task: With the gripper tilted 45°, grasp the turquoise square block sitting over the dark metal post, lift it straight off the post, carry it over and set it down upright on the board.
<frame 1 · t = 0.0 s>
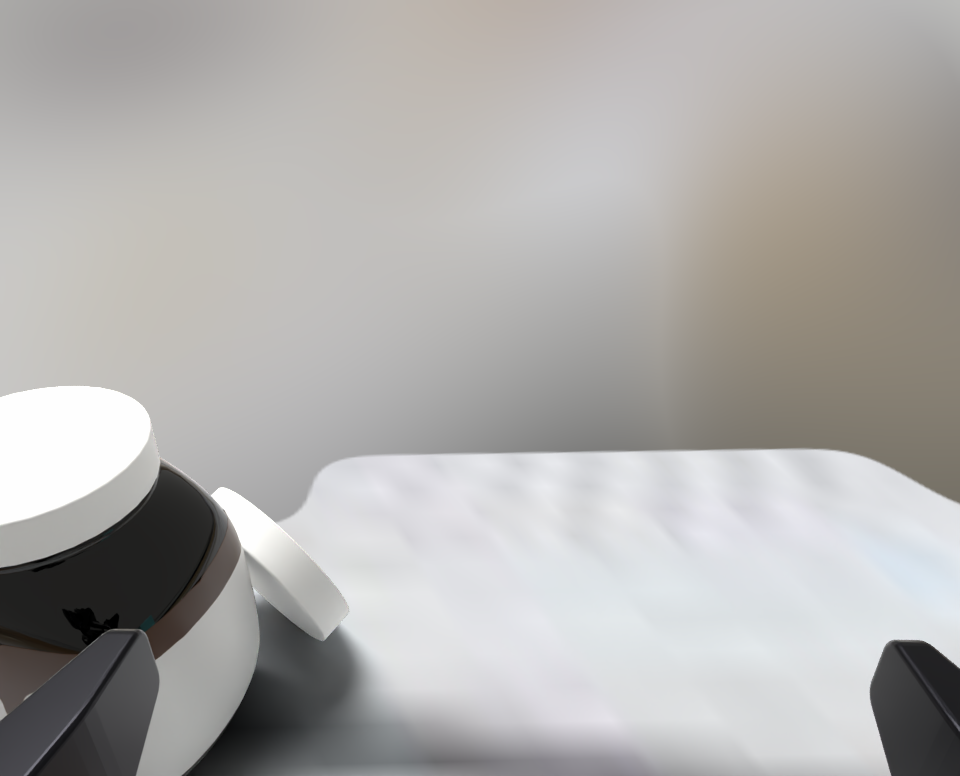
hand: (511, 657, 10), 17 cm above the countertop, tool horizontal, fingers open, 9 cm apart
spread jar: (176, 685, 29), on the countertop
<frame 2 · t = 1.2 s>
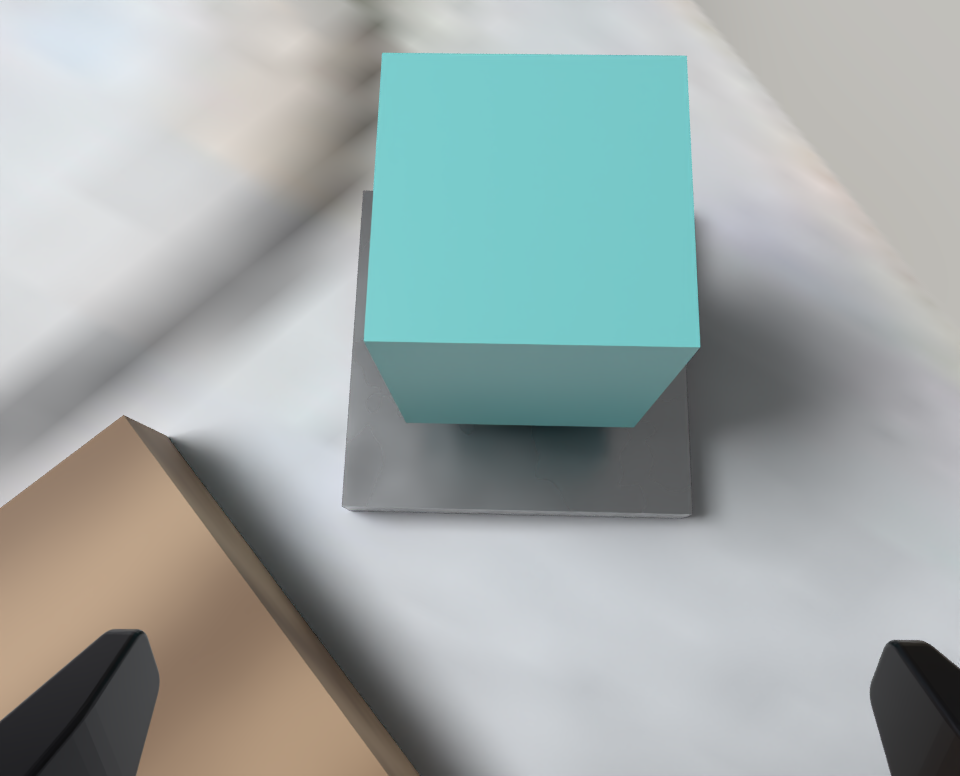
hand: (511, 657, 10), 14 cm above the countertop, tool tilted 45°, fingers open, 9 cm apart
post stand: (517, 354, 25), on the countertop
board: (160, 734, 22), on the countertop
turquoise square block: (520, 317, 22), point 3 cm above the countertop, touching post stand
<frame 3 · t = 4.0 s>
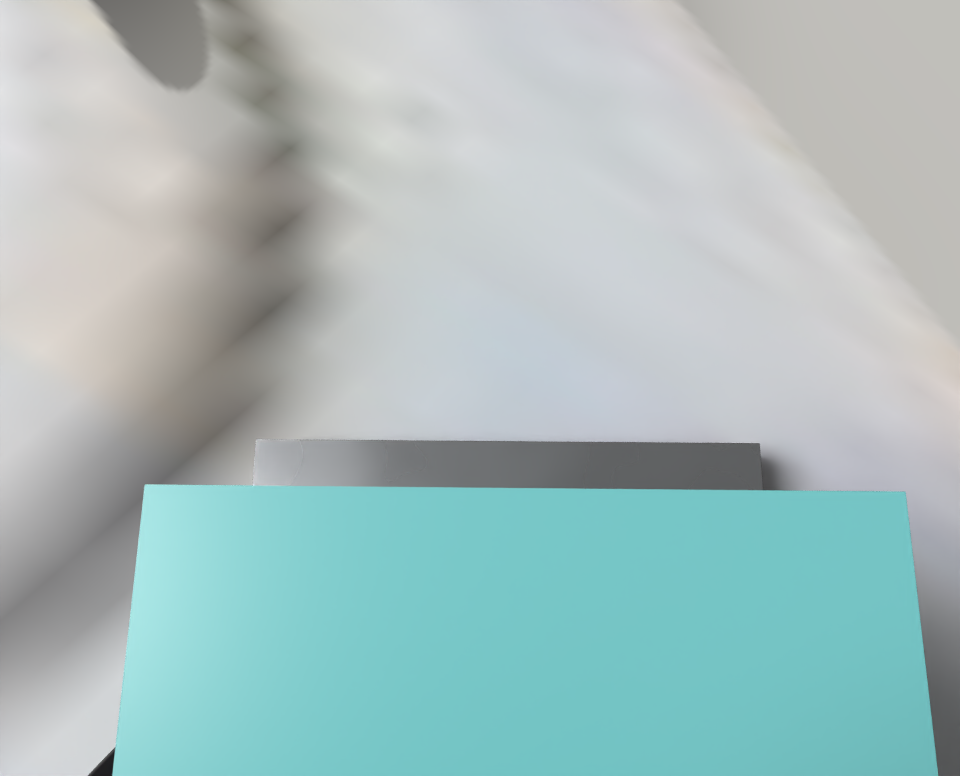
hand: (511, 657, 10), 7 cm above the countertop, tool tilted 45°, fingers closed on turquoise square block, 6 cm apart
post stand: (504, 700, 16), on the countertop
turquoise square block: (507, 733, 12), point 4 cm above the countertop, touching gripper, post stand
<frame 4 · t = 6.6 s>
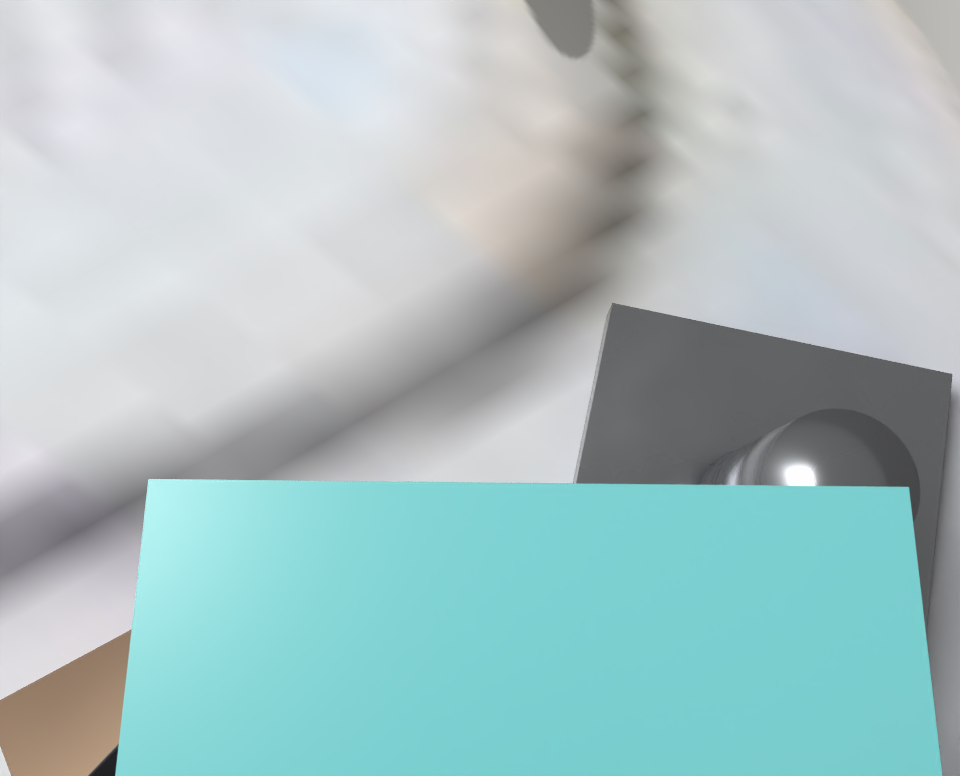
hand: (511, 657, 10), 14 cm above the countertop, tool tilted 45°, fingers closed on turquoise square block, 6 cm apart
post stand: (741, 508, 23), on the countertop
turquoise square block: (509, 730, 12), point 11 cm above the countertop, touching gripper
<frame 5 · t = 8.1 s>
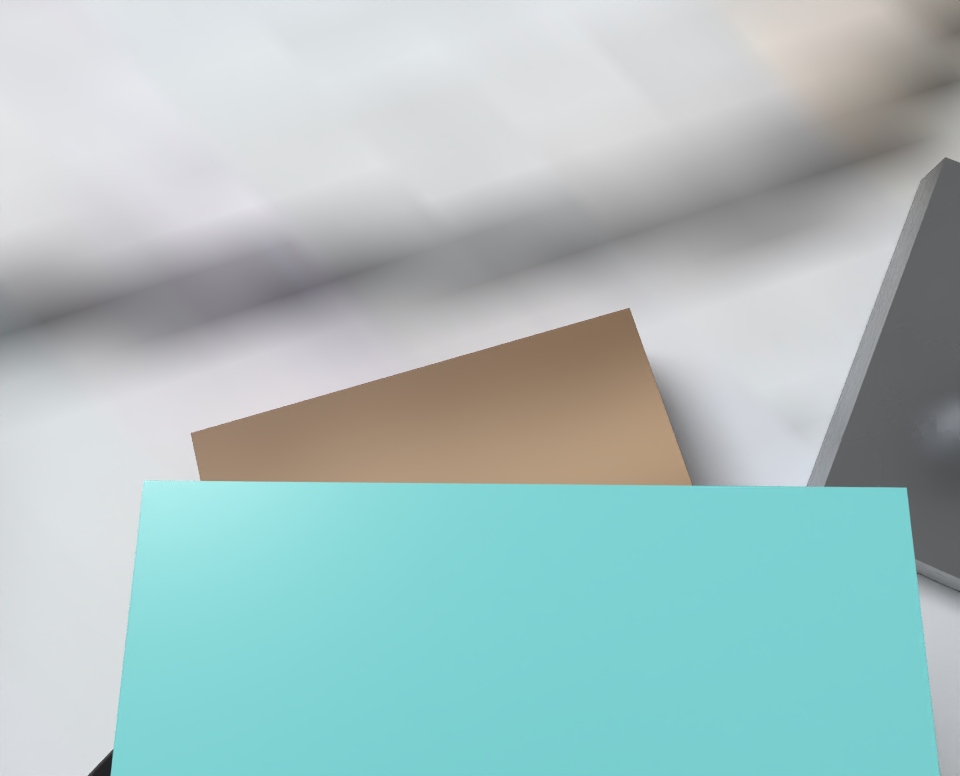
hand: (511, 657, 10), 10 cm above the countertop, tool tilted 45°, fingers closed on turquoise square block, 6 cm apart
board: (503, 676, 19), on the countertop
turquoise square block: (507, 731, 12), point 7 cm above the countertop, touching gripper
when the fingers open (7 cm above the countertop, at t = 9.1 s): turquoise square block drops 1 cm, resting on board.
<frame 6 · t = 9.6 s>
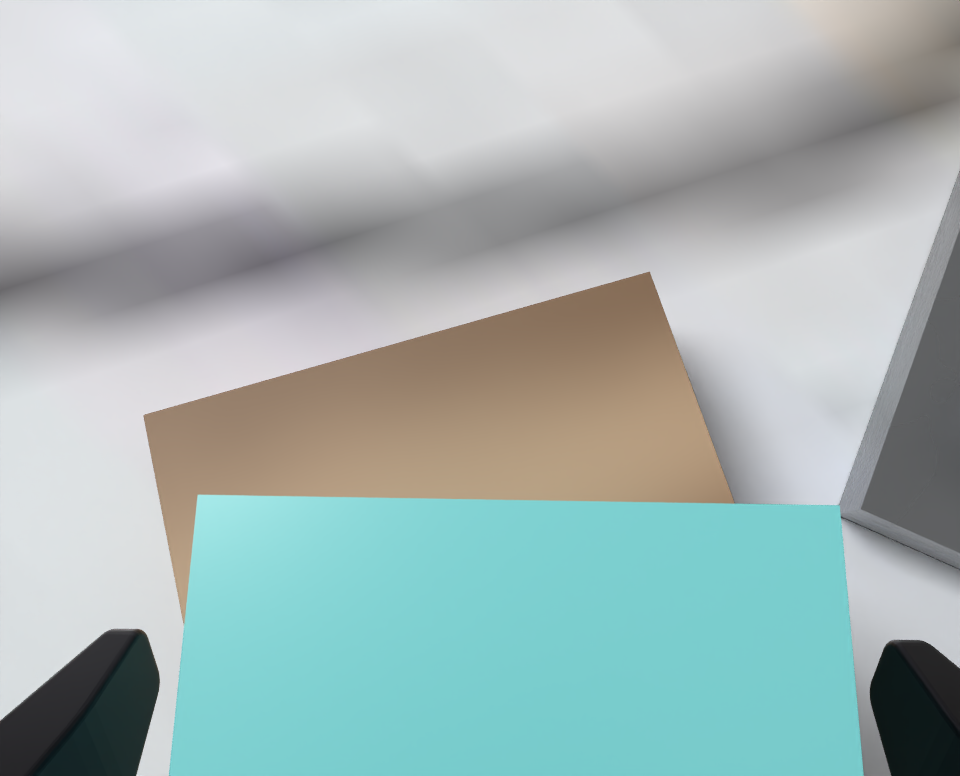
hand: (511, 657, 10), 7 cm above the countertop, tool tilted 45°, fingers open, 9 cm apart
board: (504, 695, 16), on the countertop
turquoise square block: (503, 718, 14), point 3 cm above the countertop, touching board
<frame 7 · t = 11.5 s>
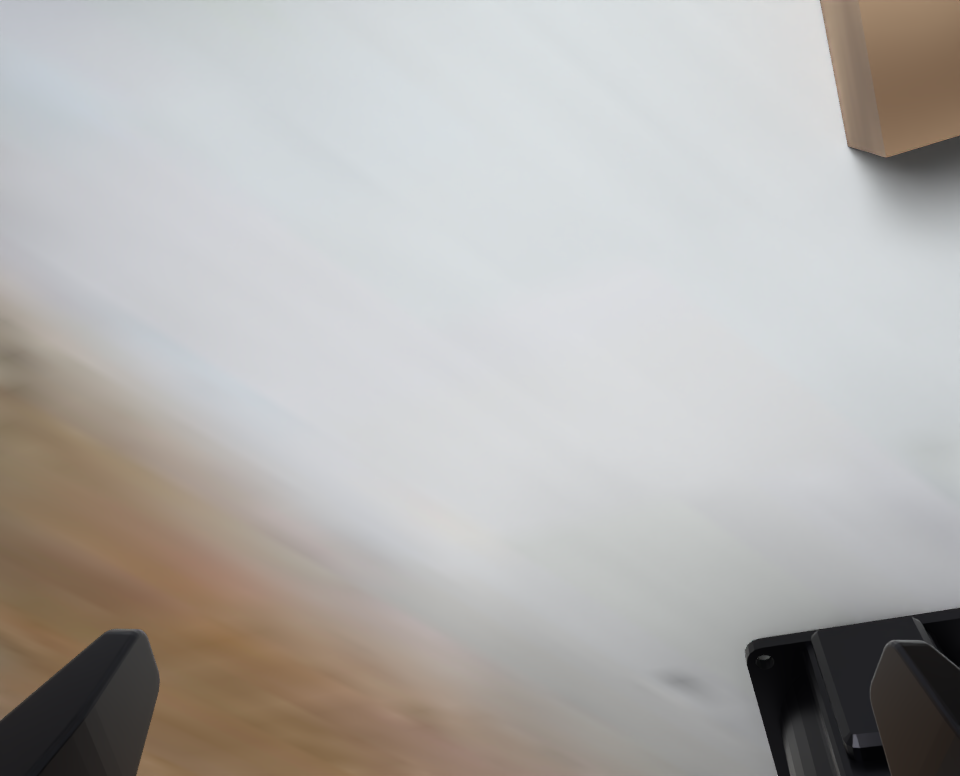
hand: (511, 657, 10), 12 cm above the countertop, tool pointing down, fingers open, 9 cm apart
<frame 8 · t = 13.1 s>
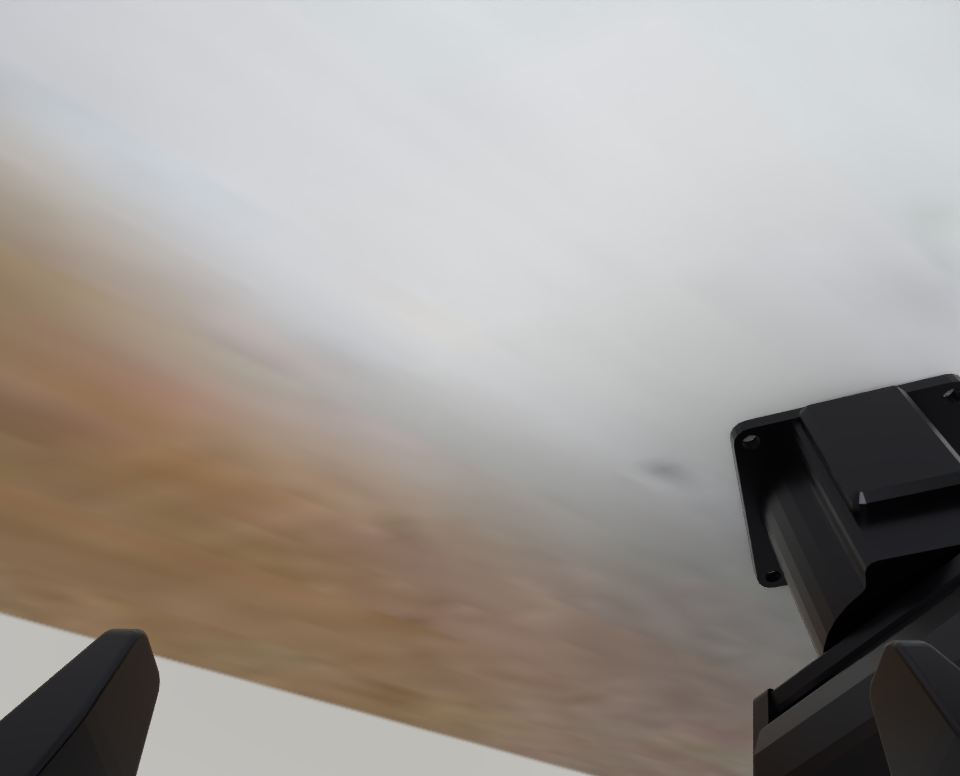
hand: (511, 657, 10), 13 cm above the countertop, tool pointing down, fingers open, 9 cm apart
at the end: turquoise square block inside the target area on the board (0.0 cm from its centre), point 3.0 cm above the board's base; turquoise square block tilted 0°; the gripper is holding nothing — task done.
